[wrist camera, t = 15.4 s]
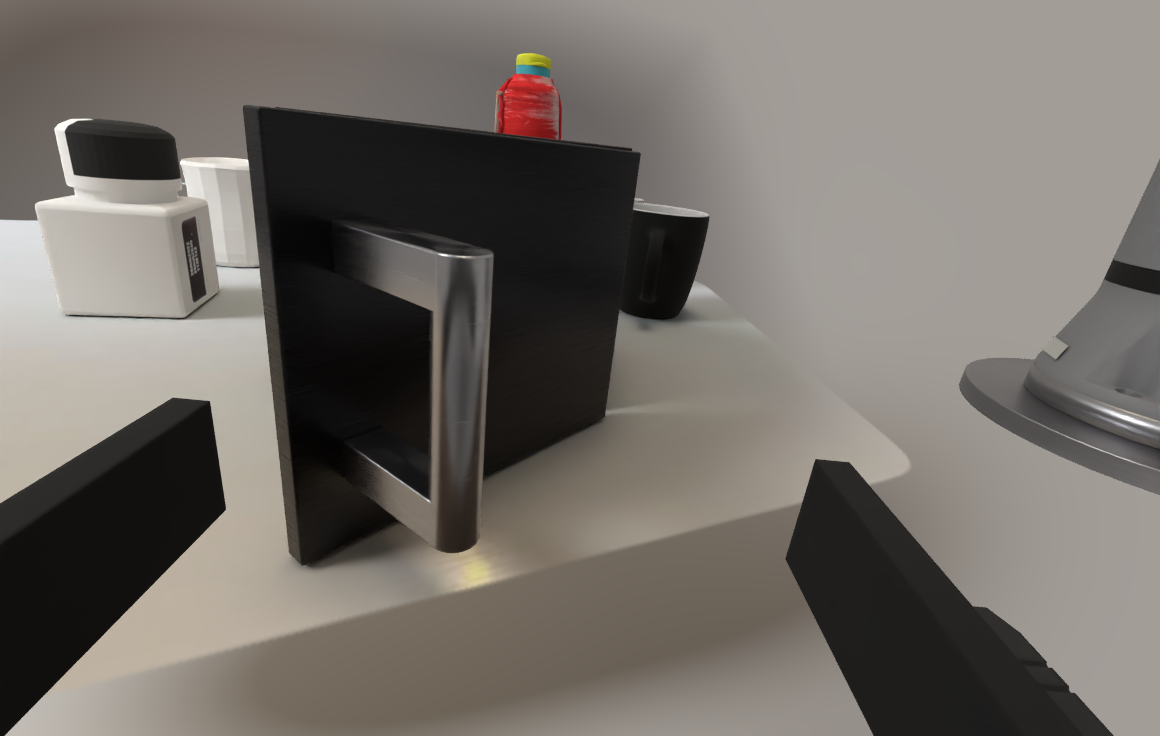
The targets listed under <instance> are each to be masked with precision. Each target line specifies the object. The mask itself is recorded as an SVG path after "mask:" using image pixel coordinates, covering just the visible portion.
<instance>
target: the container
mask: <svg viewBox="0 0 1160 736" xmlns="http://www.w3.org/2000/svg"><path fill="white" fill-rule="evenodd" d="M54 130H55V134H56V139H57V143H58V148H59V152H60V157H61V162H62V166H63V171H64V175H65V179H66V184H67V185H68V186H71V187H74V191H75V195H73V196H67V197H61V198H56V199H51V200H45V201H41V202H38V203H37V204H36V205H35V209H36V213H37V218H38V222H39V226H40V230H41V234H42V238H43V242H44V246H45V250H46V255H47V259H48V263H49V267H50V271H51V275H52V279H53V283H54V287H55V291H56V296H57V300H58V304H59V308H60V311H61V312H62V313H64V314H65V315H95V316H132V317H168V318H184V317H186V316H187V315H188V314H190V313H191V312H192V311H194V310H195V309H196V308H198V307H199V306H200V305H202V304H203V303H204V302H206V301H207V300H208V299H209V298H211V297H212V296H213V295H215V294H216V293H217V292H218V291H219V282H218V274H217V267H216V259H215V252H214V244H213V237H212V229H211V222H210V214H209V207H208V203H207V201H206V200H204V199H200V198H194V197H183V196H178V194H177V191H179V190H182V183H181V177H180V169H179V163H178V157H177V149H176V142H175V138H174V137H173V136H172V135H171V134H169V133H168V132H166V131H164V130H162V129H160V128H158V127H154V126H150V125H145V124H140V123H133V122H125V121H114V120H102V119H70V120H67V121H65V122H62V123H59V124H58V125H57V126H56V127H55V129H54Z"/></svg>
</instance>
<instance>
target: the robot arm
mask: <svg viewBox="0 0 1160 736" xmlns="http://www.w3.org/2000/svg"><path fill="white" fill-rule="evenodd" d="M1024 384H1025V386H1026V388H1027V389H1028V390H1029V391H1030V392H1031V393H1032V394H1033V395H1034V396H1036V397H1037V398H1038V399H1040V400H1041V401H1043V402H1045V403H1046V404H1048V405H1050V406H1051V407H1053V408H1055V409H1057V410H1059V411H1061V412H1063V413H1065V414H1067V415H1069V416H1071V417H1073V418H1075V419H1078V420H1080V421H1082V422H1085V423H1087V424H1089V425H1092V426H1094V427H1097V428H1099V429H1102V430H1104V431H1107V432H1109V433H1112V434H1115V435H1117V436H1120V437H1123V438H1126V439H1129V440H1131V441H1134V442H1137V443H1140V444H1143V445H1146V446H1149V447H1153V448H1156V449H1159V450H1160V160H1159V162H1158V164H1157V166H1156V169H1155V171H1154V173H1153V175H1152V177H1151V179H1150V182H1149V184H1148V186H1147V188H1146V190H1145V192H1144V194H1143V196H1142V199H1141V201H1140V203H1139V205H1138V207H1137V209H1136V211H1135V214H1134V215H1133V218H1132V220H1131V222H1130V224H1129V226H1128V228H1127V231H1126V232H1125V235H1124V237H1123V239H1122V241H1121V243H1120V245H1119V247H1118V249H1117V252H1116V254H1115V256H1114V258H1113V261H1112V263H1111V265H1110V267H1109V269H1108V272H1107V274H1106V276H1105V278H1104V280H1103V282H1102V284H1101V286H1100V288H1099V290H1098V291H1097V293H1096V294H1095V295H1094V296H1093V298H1092V299H1091V300H1090V301H1089V302H1088V303H1087V304H1086V305H1085V306H1084V307H1083V308H1082V309H1081V310H1080V311H1079V312H1078V313H1077V315H1075V317H1074V318H1073V319H1072V320H1071V321H1070V322H1069V323H1068V324H1067V325H1066V326H1065V327H1064V328H1063V329H1062V330H1061V331H1060V332H1059V333H1058V334H1057V335H1056V336H1055V337H1053V338H1052V339H1051V340H1050V341H1049V342H1048V343H1047V344H1046V345H1045V346H1044V348H1043V350H1042V351H1041V352H1040V354H1038V356H1037V357H1036V359H1034V360H1033V362H1032V364H1031V367H1030V369H1029V371H1028V374H1027V376H1026V378H1025V381H1024ZM225 510H226V506H225V499H224V493H223V486H222V479H221V473H220V466H219V459H218V453H217V446H216V439H215V432H214V426H213V419H212V412H211V406H210V401H201V400H191V399H181V398H172V399H170V400H168V401H167V402H165V403H164V404H162V405H160V406H159V407H157V408H155V409H154V410H152V411H150V412H149V413H147V414H146V415H144V416H142V417H141V418H139V419H137V420H136V421H134V422H133V423H131V424H129V425H128V426H126V427H124V428H123V429H121V430H119V431H118V432H116V433H115V434H113V435H111V436H110V437H108V438H106V439H105V440H103V441H101V442H100V443H98V444H97V445H95V446H93V447H92V448H90V449H88V450H87V451H85V452H84V453H82V454H80V455H79V456H77V457H75V458H74V459H72V460H70V461H69V462H67V463H66V464H64V465H62V466H61V467H59V468H57V469H56V470H54V471H53V472H51V473H49V474H48V475H46V476H44V477H43V478H41V479H39V480H38V481H36V482H35V483H33V484H31V485H30V486H28V487H26V488H25V489H23V490H21V491H20V492H18V493H17V494H15V495H13V496H12V497H10V498H8V499H7V500H5V501H4V502H2V503H0V736H5V735H6V734H7V733H8V731H9V730H10V729H11V728H12V727H13V726H14V725H15V724H16V723H17V722H18V721H19V720H20V719H21V718H22V717H23V716H24V715H25V714H26V713H27V712H28V711H29V710H30V709H31V708H32V707H33V706H34V705H35V704H36V703H37V702H38V701H39V700H40V699H41V698H42V697H43V696H44V695H45V694H46V693H47V692H48V691H49V690H50V689H51V688H52V687H53V686H54V685H55V684H56V683H57V682H58V681H59V679H60V678H61V677H62V676H63V675H64V674H65V673H66V672H67V671H68V670H69V669H70V668H71V667H72V666H73V665H74V664H75V663H76V662H77V661H78V660H79V659H80V658H81V657H82V656H83V655H84V654H85V653H86V652H87V651H88V650H89V649H90V648H91V647H92V646H93V645H94V644H95V643H96V642H97V641H98V640H99V639H100V638H101V637H102V636H103V635H104V634H105V633H106V632H107V631H108V630H109V628H110V627H111V626H112V625H113V624H114V623H115V622H116V621H117V620H118V619H119V618H120V617H121V616H122V615H123V614H124V613H125V612H126V611H127V610H128V609H129V608H130V607H131V606H132V605H133V604H134V603H135V602H136V601H137V600H138V599H139V598H140V597H141V596H142V595H143V594H144V593H145V592H146V591H147V590H148V589H149V588H150V587H151V586H152V585H153V584H154V583H155V582H156V581H157V580H158V579H159V577H160V576H161V575H162V574H163V573H164V572H165V571H166V570H167V569H168V568H169V567H170V566H171V565H172V564H173V563H174V562H175V561H176V560H177V559H178V558H179V557H180V556H181V555H182V554H183V553H184V552H185V551H186V550H187V549H188V548H189V547H190V546H191V545H192V544H193V543H194V542H195V541H196V540H197V539H198V538H199V537H200V536H201V535H202V534H203V533H204V532H205V531H206V530H207V529H208V528H209V526H210V525H211V524H212V523H213V522H214V521H215V520H216V519H217V518H218V517H219V516H220V515H221V514H222V513H223V512H224V511H225ZM786 561H787V563H788V565H789V567H790V569H791V571H792V573H793V575H794V577H795V579H796V581H797V583H798V585H799V587H800V589H801V591H802V593H803V595H804V597H805V599H806V601H807V603H808V605H809V607H810V609H811V611H812V613H813V615H814V617H815V619H816V621H817V623H818V625H819V627H820V629H821V631H822V633H823V635H824V637H825V639H826V641H827V643H828V645H829V647H830V649H831V651H832V653H833V655H834V657H835V659H836V661H837V663H838V665H839V667H840V669H841V671H842V673H843V675H844V677H845V679H846V681H847V683H848V685H849V687H850V689H851V691H852V693H853V695H854V697H855V699H856V701H857V703H858V705H859V707H860V709H861V711H862V713H863V715H864V717H865V719H866V721H867V723H868V725H869V727H870V729H871V731H872V733H873V735H874V736H1113V735H1112V733H1111V732H1110V731H1109V730H1108V729H1107V728H1106V727H1105V726H1104V725H1103V723H1102V722H1101V721H1100V720H1099V719H1098V718H1097V717H1096V716H1095V715H1094V714H1093V712H1092V711H1091V710H1090V709H1089V708H1088V707H1087V706H1086V705H1085V704H1084V703H1083V702H1082V700H1081V699H1080V698H1079V697H1078V696H1077V695H1076V694H1075V693H1071V692H1070V691H1069V686H1068V685H1067V684H1066V683H1065V682H1064V681H1063V679H1061V677H1060V676H1059V675H1058V674H1057V673H1056V672H1055V671H1054V670H1053V668H1048V667H1047V664H1046V663H1047V662H1046V661H1045V660H1044V659H1043V658H1042V656H1041V655H1040V654H1039V653H1038V652H1037V651H1036V650H1035V649H1034V647H1033V646H1032V645H1031V644H1030V643H1029V642H1028V641H1027V640H1026V639H1025V638H1024V636H1022V634H1021V633H1020V632H1018V631H1017V630H1016V629H1014V628H1013V627H1012V626H1010V625H1009V624H1008V623H1006V622H1005V621H1004V620H1002V619H1001V618H1000V617H998V616H997V615H996V614H994V613H993V612H992V611H990V610H989V609H988V608H985V607H973V606H972V605H971V604H970V603H969V602H968V600H967V599H966V598H965V597H964V596H963V595H962V593H961V592H960V591H959V590H958V589H957V588H956V586H954V584H953V583H952V582H951V581H950V579H949V578H948V577H947V576H946V575H945V574H944V572H943V571H942V570H941V569H940V568H939V567H938V565H937V564H936V563H935V562H934V561H933V560H932V558H931V557H930V556H929V555H928V554H927V553H926V551H925V550H924V549H923V548H922V547H921V545H920V544H919V543H918V542H917V541H916V540H915V539H914V537H913V536H912V535H911V534H910V533H909V532H908V530H907V529H906V528H905V527H904V526H903V524H901V522H900V521H899V520H898V519H897V517H896V516H895V515H894V514H893V513H892V512H891V510H889V508H888V507H887V506H886V505H885V503H884V502H883V501H882V500H881V499H880V498H879V496H878V495H877V494H876V493H875V492H874V491H873V490H872V488H871V487H870V486H869V485H868V484H867V482H866V481H865V480H864V479H863V478H862V477H861V475H860V474H859V473H858V472H857V471H856V470H855V468H854V467H853V466H852V465H851V464H850V463H849V462H839V461H829V460H818V459H816V460H815V463H814V466H813V469H812V473H811V476H810V479H809V483H808V486H807V489H806V493H805V496H804V499H803V503H802V506H801V509H800V513H799V516H798V519H797V523H796V526H795V529H794V532H793V536H792V539H791V542H790V546H789V549H788V552H787V556H786Z"/></svg>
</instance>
